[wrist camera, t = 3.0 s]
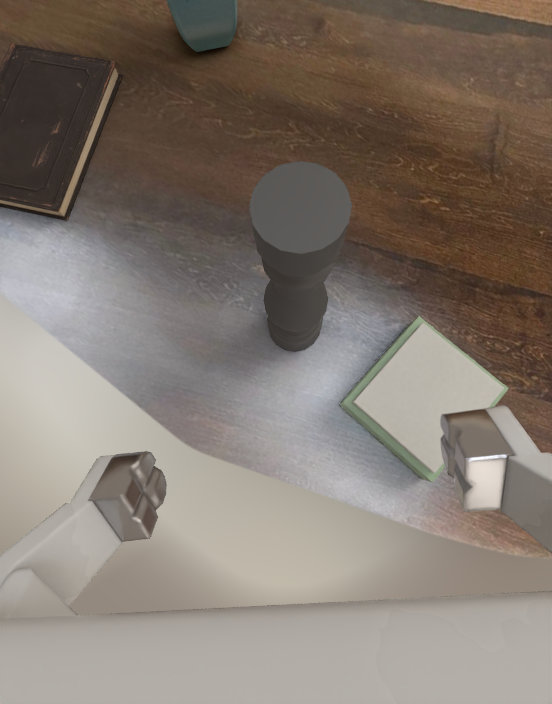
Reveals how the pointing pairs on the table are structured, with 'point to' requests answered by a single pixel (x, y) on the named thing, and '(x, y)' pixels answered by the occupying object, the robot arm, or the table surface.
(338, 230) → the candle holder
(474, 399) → the scale
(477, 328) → the table surface
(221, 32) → the flower pot
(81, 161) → the hardcover book
